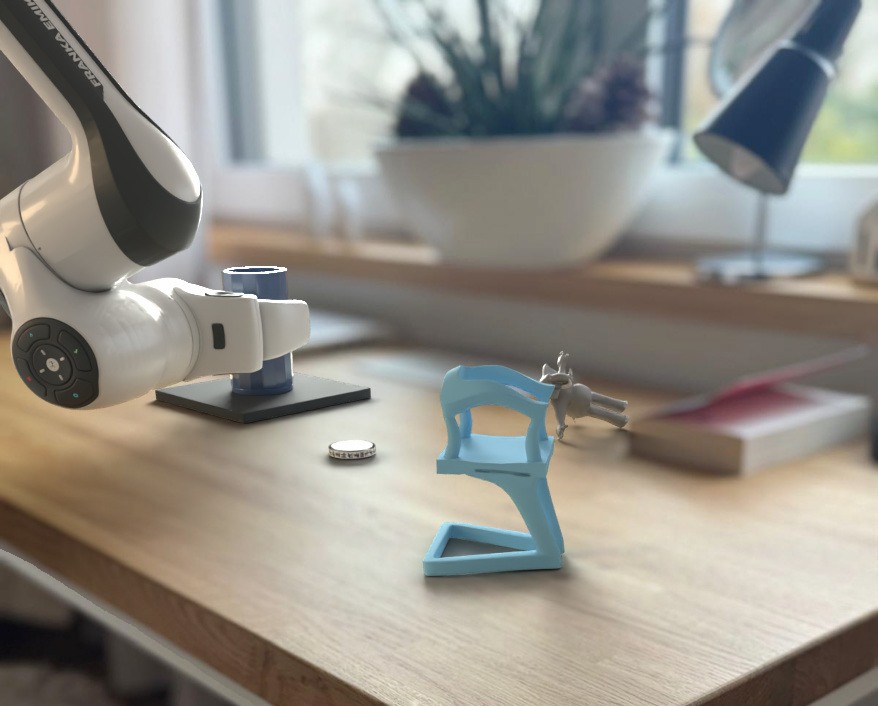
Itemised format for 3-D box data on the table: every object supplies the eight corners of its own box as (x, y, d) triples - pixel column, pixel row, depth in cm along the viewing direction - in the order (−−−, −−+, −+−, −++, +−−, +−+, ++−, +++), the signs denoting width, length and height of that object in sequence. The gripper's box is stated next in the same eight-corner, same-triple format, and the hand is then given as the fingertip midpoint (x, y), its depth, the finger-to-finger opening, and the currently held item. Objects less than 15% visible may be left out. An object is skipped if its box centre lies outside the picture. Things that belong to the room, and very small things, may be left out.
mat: (155, 399, 113) (154, 390, 113) (279, 377, 124) (278, 368, 123) (244, 423, 103) (243, 413, 102) (371, 397, 113) (370, 387, 112)
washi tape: (375, 445, 94) (375, 438, 94) (376, 457, 90) (375, 450, 90) (329, 447, 94) (328, 440, 93) (328, 459, 90) (327, 451, 90)
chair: (559, 583, 64) (565, 381, 59) (421, 576, 65) (417, 378, 61) (567, 540, 71) (573, 356, 66) (442, 534, 72) (440, 354, 68)
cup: (219, 389, 113) (209, 270, 108) (269, 380, 117) (261, 265, 112) (255, 398, 108) (246, 274, 104) (306, 388, 113) (299, 269, 108)
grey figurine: (643, 442, 95) (551, 412, 92) (607, 477, 100) (520, 449, 97) (640, 355, 100) (553, 324, 97) (606, 392, 104) (523, 363, 102)
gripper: (67, 363, 98) (149, 339, 110) (272, 373, 92) (335, 346, 104) (57, 291, 96) (142, 275, 108) (267, 297, 90) (331, 279, 102)
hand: (238, 310), depth 106 cm, fingers open, 8 cm apart
